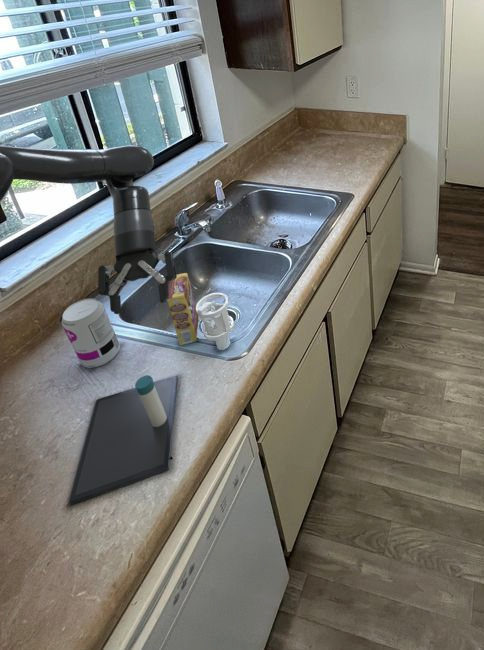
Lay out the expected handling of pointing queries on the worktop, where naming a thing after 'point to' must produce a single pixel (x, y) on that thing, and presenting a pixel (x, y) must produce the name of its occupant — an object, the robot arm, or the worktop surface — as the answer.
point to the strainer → (216, 320)
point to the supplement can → (90, 332)
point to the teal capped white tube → (151, 400)
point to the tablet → (124, 442)
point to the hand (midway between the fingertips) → (141, 308)
